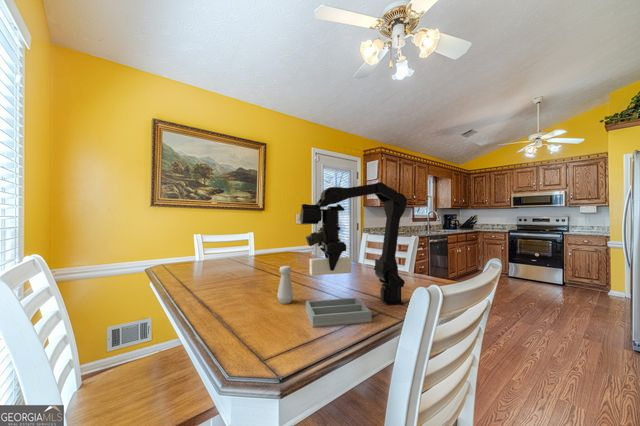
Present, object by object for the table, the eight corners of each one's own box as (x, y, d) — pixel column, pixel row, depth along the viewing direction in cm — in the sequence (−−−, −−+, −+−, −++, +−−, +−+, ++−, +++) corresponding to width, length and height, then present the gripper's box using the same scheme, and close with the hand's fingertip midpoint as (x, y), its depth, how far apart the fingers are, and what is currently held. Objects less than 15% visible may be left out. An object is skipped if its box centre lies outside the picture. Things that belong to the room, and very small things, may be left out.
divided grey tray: (356, 306, 87) (356, 297, 87) (371, 321, 74) (371, 311, 74) (305, 310, 83) (305, 301, 84) (312, 327, 70) (312, 316, 70)
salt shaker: (285, 305, 88) (285, 268, 88) (273, 302, 91) (274, 266, 92) (296, 301, 92) (296, 266, 93) (285, 298, 96) (285, 264, 96)
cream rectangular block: (347, 270, 90) (347, 256, 90) (351, 272, 86) (351, 258, 86) (309, 273, 86) (309, 258, 86) (311, 275, 83) (311, 260, 83)
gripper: (304, 223, 94) (304, 265, 94) (311, 224, 76) (311, 276, 76) (332, 223, 96) (333, 264, 96) (346, 224, 78) (347, 274, 78)
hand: (330, 269), depth 86 cm, fingers closed on cream rectangular block, 4 cm apart
